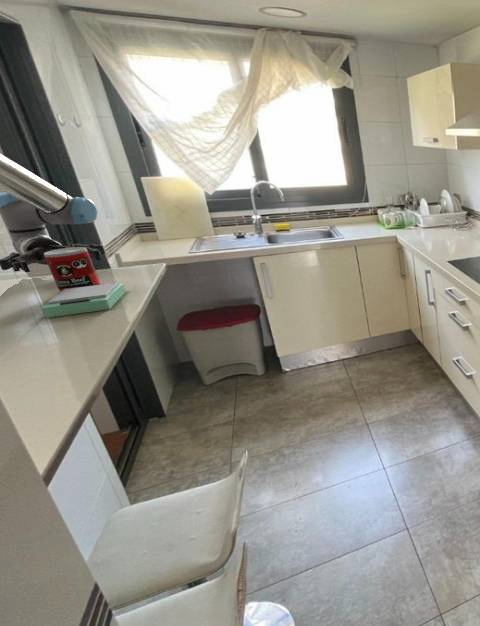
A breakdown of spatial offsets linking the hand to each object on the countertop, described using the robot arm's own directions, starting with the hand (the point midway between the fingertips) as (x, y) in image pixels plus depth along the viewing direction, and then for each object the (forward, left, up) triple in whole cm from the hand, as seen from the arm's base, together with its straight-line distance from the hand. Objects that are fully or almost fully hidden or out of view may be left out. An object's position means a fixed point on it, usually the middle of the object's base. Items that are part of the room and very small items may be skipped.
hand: (63, 261), depth 121 cm
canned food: (+4, -7, -7) cm, 11 cm away
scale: (+8, -21, -7) cm, 23 cm away
